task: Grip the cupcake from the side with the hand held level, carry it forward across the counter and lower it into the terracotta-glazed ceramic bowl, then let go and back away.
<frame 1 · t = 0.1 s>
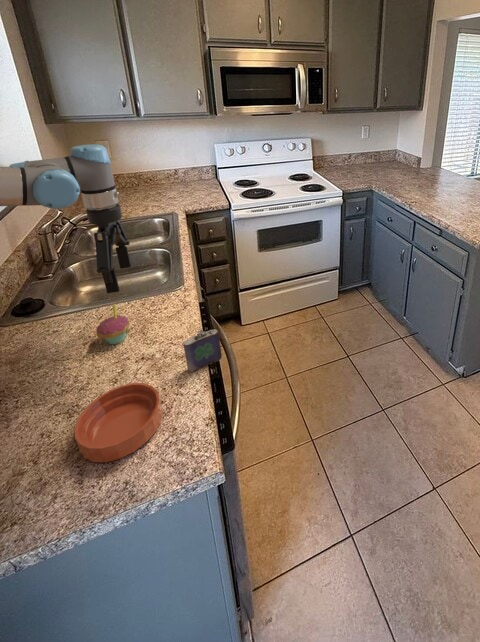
hand: (120, 279, 98), 22 cm above the counter, tool pointing down, fingers open, 13 cm apart
cupcake: (116, 340, 107), on the counter
bowl: (123, 427, 79), on the counter
flask: (205, 363, 97), on the counter
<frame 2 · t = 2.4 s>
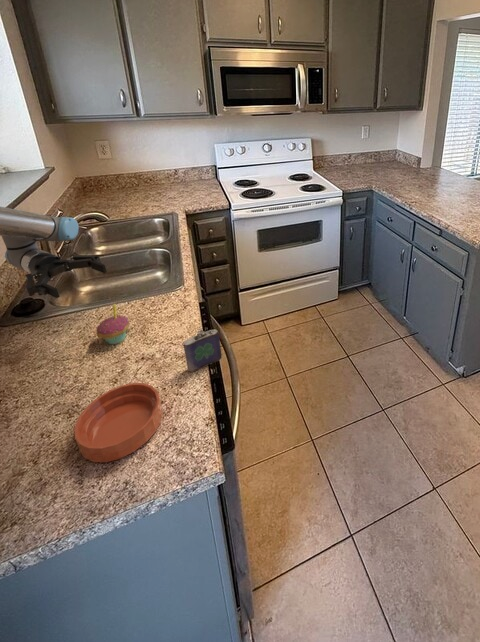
hand: (82, 280, 103), 19 cm above the counter, tool horizontal, fingers open, 13 cm apart
nothing on the counter moved.
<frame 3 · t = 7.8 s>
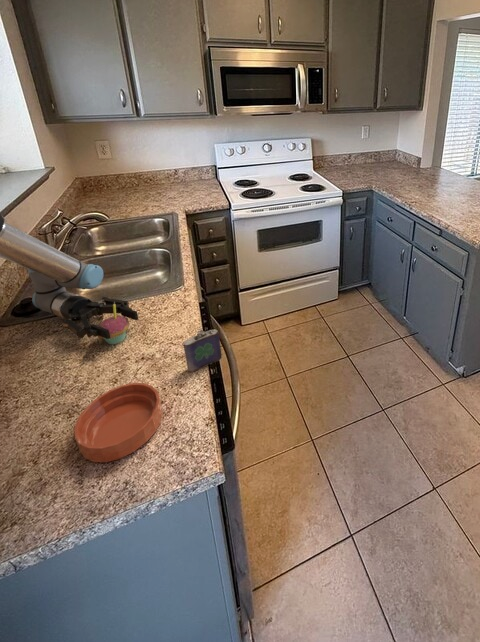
hand: (122, 324, 103), 7 cm above the counter, tool horizontal, fingers closed on cupcake, 8 cm apart
cupcake: (116, 340, 107), on the counter, touching gripper
everything else where it was.
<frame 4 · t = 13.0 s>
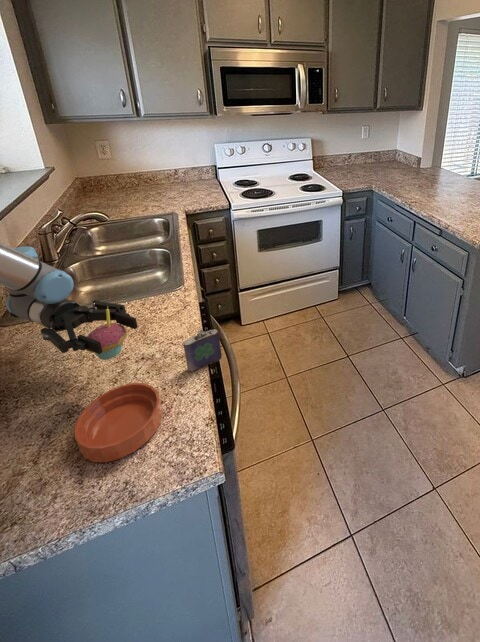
hand: (118, 335, 82), 18 cm above the counter, tool horizontal, fingers closed on cupcake, 8 cm apart
cupcake: (110, 353, 86), point 11 cm above the counter, touching gripper
everything else where it was.
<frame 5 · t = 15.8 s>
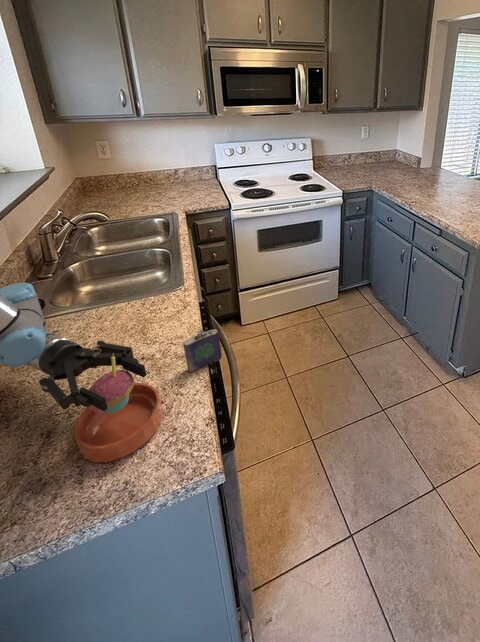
hand: (125, 387, 73), 14 cm above the counter, tool horizontal, fingers closed on cupcake, 8 cm apart
cupcake: (116, 405, 77), point 7 cm above the counter, touching gripper
everything else where it was.
when the fingers open (7 cm above the counter, at t = 18.1 s): cupcake stays where it is, resting on bowl.
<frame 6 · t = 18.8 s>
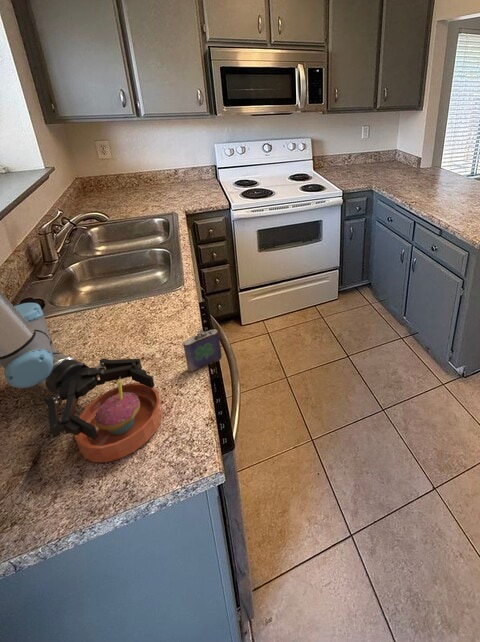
hand: (125, 406, 75), 8 cm above the counter, tool horizontal, fingers open, 13 cm apart
cupcake: (122, 426, 79), resting on bowl
everything else where it was.
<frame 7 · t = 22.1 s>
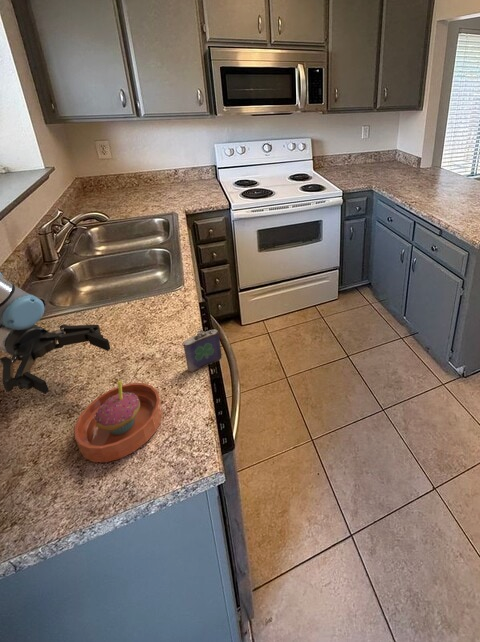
hand: (79, 364, 78), 14 cm above the counter, tool horizontal, fingers open, 13 cm apart
nothing on the counter moved.
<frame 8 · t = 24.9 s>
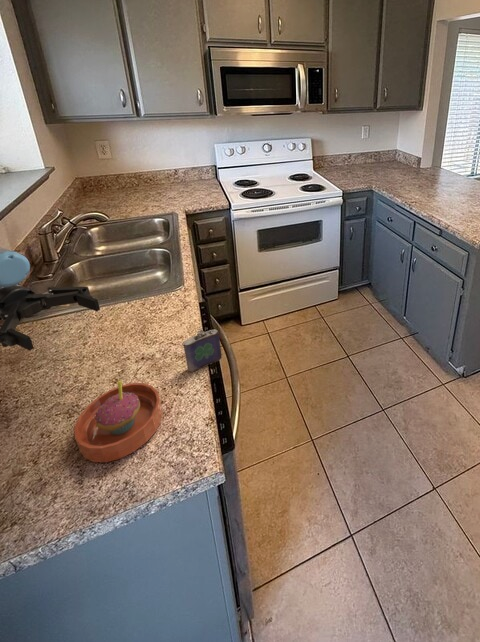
hand: (66, 323, 75), 25 cm above the counter, tool horizontal, fingers open, 13 cm apart
nothing on the counter moved.
at the end: cupcake inside the target area in the bowl (0.1 cm from its centre), point 0.4 cm above the bowl's base; cupcake tilted 0°; the gripper is holding nothing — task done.
